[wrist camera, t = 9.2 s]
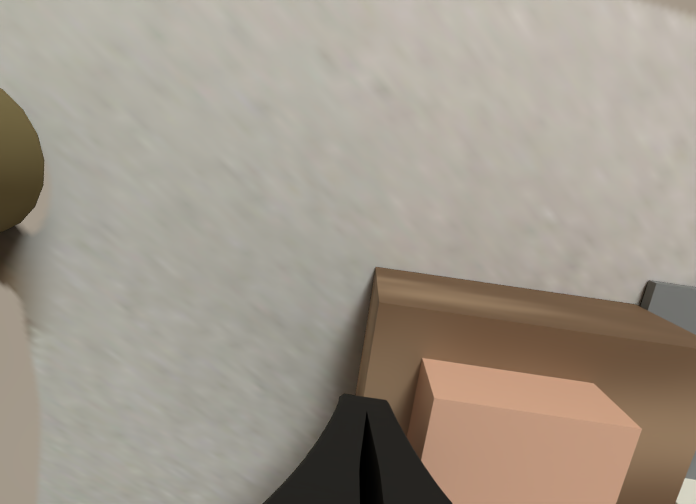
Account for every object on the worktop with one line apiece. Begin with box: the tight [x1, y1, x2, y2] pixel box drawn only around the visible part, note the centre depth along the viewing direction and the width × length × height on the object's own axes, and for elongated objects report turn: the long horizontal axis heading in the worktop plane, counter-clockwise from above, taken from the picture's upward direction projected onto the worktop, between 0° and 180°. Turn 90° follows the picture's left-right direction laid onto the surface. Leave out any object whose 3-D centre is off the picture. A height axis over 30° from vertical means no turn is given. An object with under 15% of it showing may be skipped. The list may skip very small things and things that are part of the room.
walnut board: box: [355, 267, 696, 504], centre depth 14 cm, size 13×10×4 cm
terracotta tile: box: [407, 358, 642, 504], centre depth 11 cm, size 4×5×2 cm
